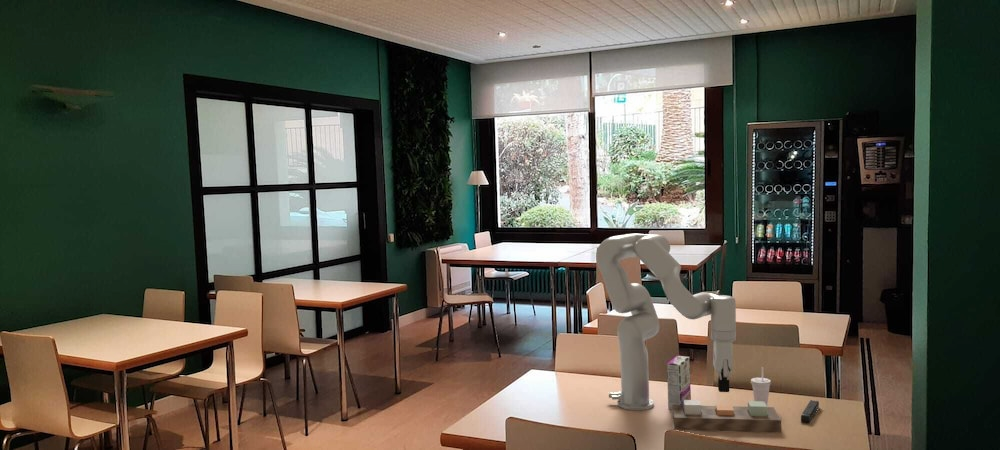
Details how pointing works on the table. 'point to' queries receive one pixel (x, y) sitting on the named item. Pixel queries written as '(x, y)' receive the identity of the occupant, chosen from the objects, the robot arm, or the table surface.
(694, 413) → the grey button
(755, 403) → the sage button
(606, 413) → the table surface
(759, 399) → the smoothie
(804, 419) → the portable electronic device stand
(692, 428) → the console
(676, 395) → the candy bar box
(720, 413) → the tan block
